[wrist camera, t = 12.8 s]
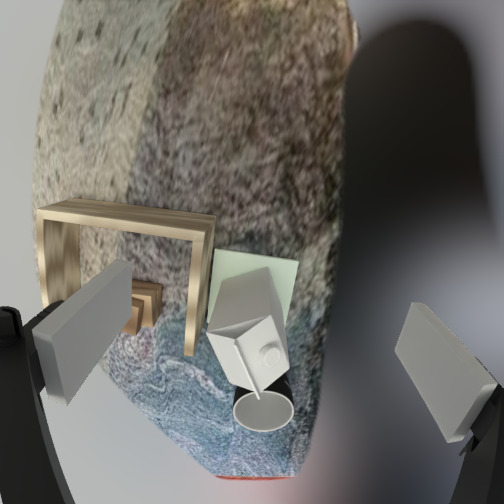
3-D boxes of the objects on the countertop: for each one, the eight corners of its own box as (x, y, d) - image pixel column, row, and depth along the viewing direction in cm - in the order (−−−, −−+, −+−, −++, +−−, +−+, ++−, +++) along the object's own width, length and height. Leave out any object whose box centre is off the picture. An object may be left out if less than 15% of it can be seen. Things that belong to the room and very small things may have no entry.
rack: (73, 197, 45) (36, 208, 35) (216, 216, 45) (204, 232, 35) (75, 294, 49) (45, 320, 40) (204, 320, 50) (193, 356, 40)
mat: (215, 247, 46) (214, 249, 46) (298, 260, 47) (298, 261, 46) (207, 321, 50) (206, 322, 49) (283, 332, 50) (283, 333, 49)
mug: (288, 390, 53) (292, 431, 44) (238, 391, 54) (234, 432, 44) (291, 334, 50) (297, 373, 40) (234, 335, 50) (229, 373, 41)
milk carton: (237, 321, 49) (226, 406, 31) (221, 280, 47) (199, 353, 29) (282, 308, 48) (293, 391, 30) (268, 265, 46) (272, 335, 28)
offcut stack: (110, 272, 48) (88, 291, 41) (163, 282, 48) (148, 304, 41) (110, 303, 50) (90, 325, 42) (162, 314, 50) (148, 339, 42)
